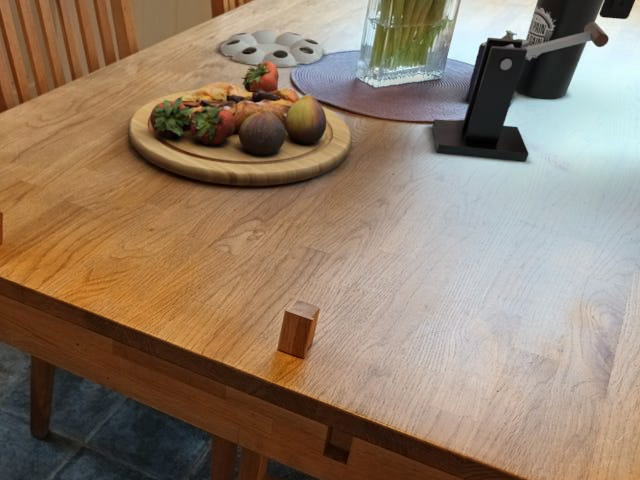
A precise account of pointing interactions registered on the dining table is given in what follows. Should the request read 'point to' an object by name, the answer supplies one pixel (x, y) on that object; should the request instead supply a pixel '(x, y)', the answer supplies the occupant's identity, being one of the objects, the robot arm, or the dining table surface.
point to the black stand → (488, 108)
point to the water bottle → (557, 65)
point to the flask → (479, 58)
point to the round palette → (272, 49)
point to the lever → (570, 40)
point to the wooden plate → (241, 133)
